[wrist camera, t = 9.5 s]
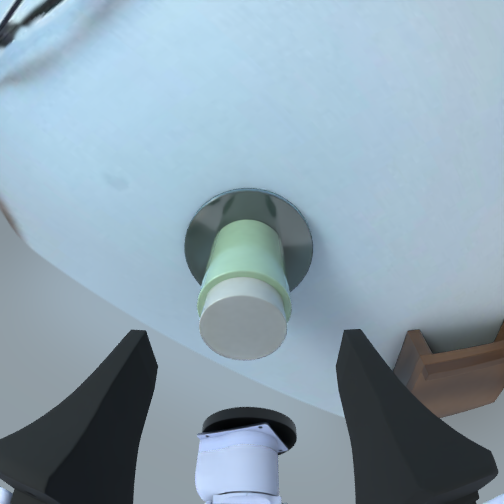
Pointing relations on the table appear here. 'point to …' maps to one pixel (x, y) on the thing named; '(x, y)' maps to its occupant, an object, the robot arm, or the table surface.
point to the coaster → (250, 208)
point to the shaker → (245, 292)
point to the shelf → (452, 374)
